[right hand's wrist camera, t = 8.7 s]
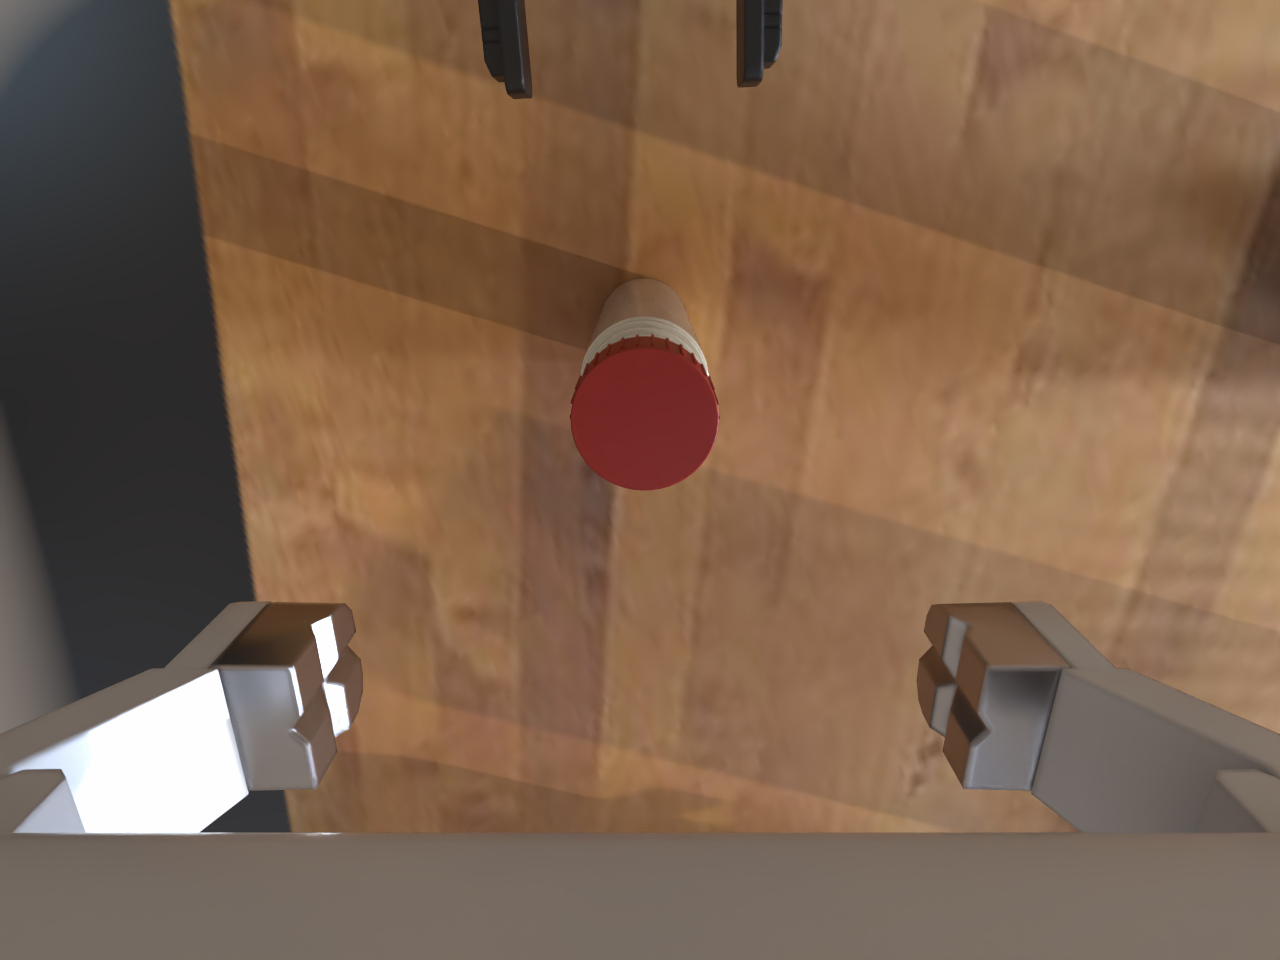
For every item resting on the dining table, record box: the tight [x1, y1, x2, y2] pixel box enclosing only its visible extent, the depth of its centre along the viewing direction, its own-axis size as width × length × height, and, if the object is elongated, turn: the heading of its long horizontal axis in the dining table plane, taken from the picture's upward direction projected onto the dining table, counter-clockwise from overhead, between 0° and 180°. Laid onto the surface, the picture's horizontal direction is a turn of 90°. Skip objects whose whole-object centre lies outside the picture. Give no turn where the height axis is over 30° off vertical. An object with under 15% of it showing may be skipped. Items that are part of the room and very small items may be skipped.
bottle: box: [580, 278, 709, 377], centre depth 29 cm, size 4×4×17 cm
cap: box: [570, 334, 720, 490], centre depth 21 cm, size 4×4×2 cm
